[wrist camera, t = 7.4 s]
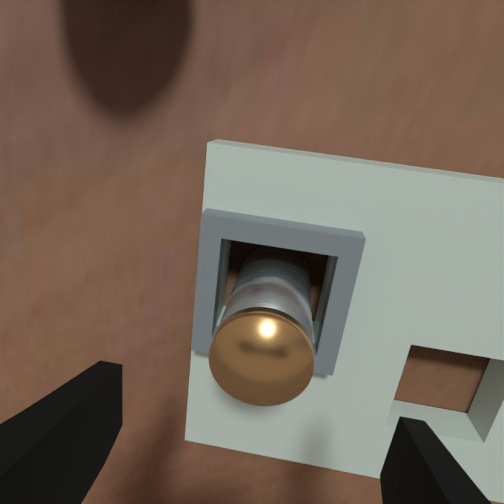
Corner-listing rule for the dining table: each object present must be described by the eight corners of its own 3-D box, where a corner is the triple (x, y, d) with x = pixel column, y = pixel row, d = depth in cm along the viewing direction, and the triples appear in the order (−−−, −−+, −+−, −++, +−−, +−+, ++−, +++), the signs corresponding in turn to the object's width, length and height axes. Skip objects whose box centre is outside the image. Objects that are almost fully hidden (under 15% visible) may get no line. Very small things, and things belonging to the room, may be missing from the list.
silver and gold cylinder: (316, 252, 18) (324, 330, 12) (301, 314, 20) (301, 415, 13) (246, 238, 19) (215, 307, 12) (235, 300, 20) (202, 393, 13)
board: (640, 197, 16) (712, 215, 13) (502, 472, 22) (532, 526, 19) (217, 139, 17) (201, 144, 14) (194, 413, 23) (179, 455, 20)
